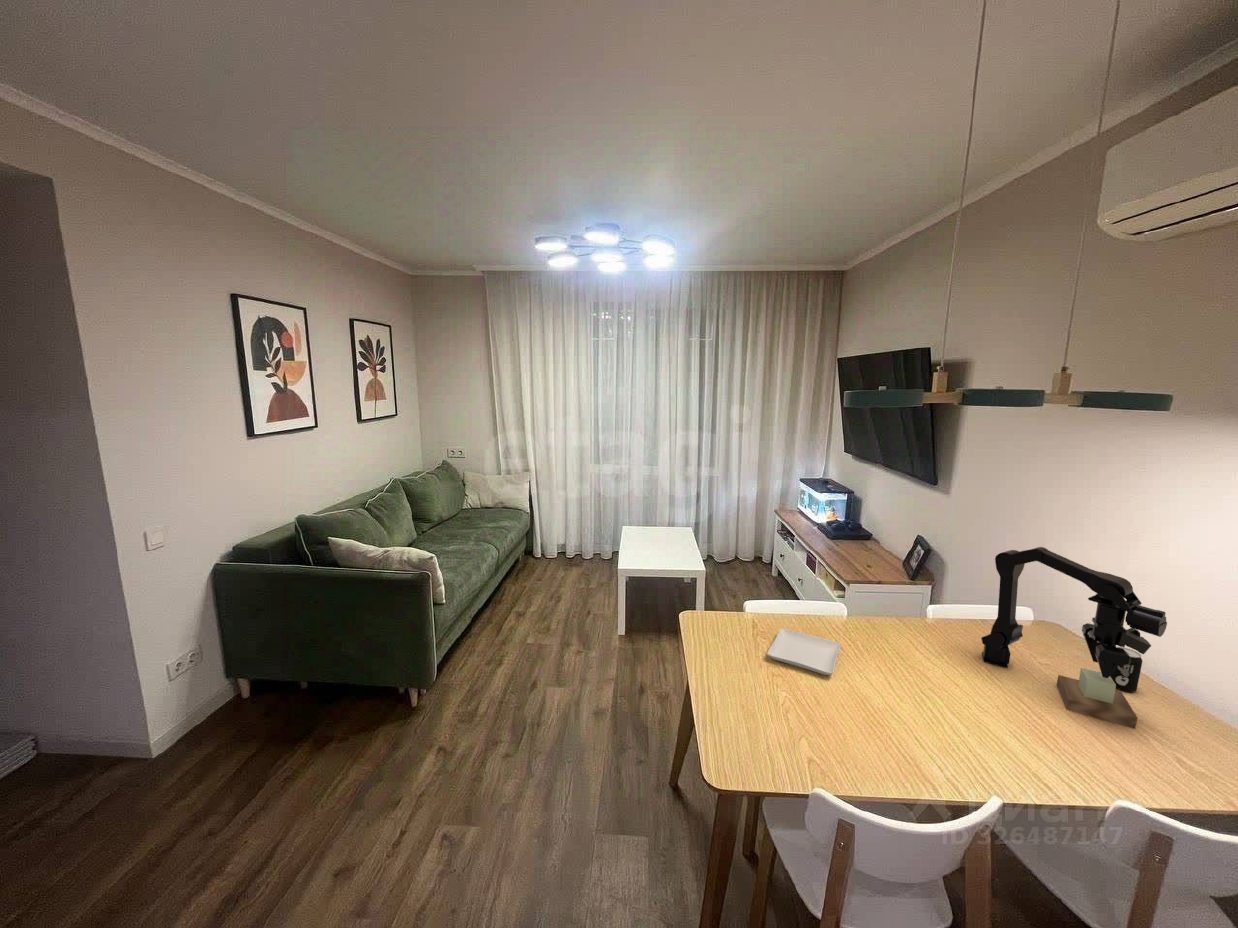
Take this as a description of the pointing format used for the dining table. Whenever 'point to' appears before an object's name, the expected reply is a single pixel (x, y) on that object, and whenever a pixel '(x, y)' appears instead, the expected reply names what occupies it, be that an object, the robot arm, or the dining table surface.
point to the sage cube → (1096, 686)
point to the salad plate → (805, 651)
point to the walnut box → (1096, 704)
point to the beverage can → (1128, 672)
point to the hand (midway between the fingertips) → (1100, 669)
